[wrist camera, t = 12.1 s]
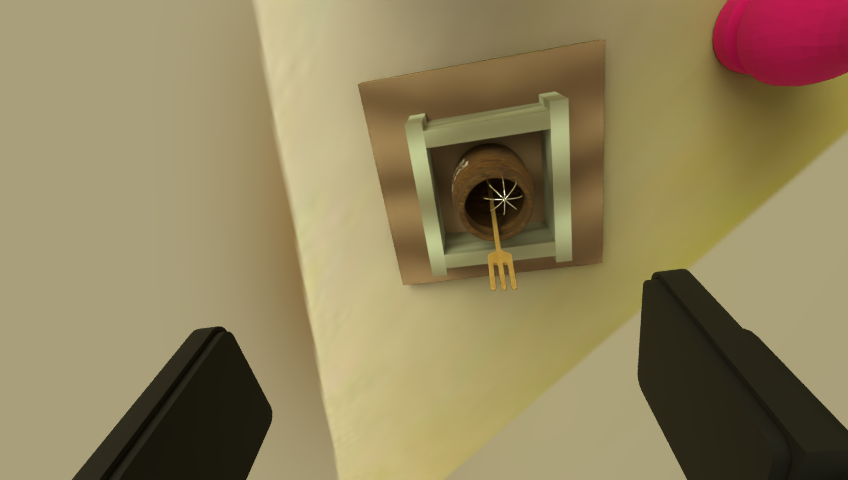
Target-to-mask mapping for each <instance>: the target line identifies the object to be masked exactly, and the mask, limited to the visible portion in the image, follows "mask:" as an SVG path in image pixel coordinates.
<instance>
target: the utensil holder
mask: <svg viewBox="0 0 848 480" xmlns="http://www.w3.org/2000/svg"><path fill="white" fill-rule="evenodd" d="M533 195H534V189H533V183H532V179H531V176H530V174H529V172H528V170H527V168H526V166H525V165H524V163H523V161H522V160H521V158H520V157H519V156H518V155H517V154H516V153H515V152H514V151H513V150H511V149H510V148H508V147H506V146H503V145H500V144H495V143H486V144H481V145H478V146H475V147H473V148H471V149H470V150H468V151H467V152H466V153H464V154H463V155H462V157H461V158H460V159H459V161H458V162H457V164H456V166H455V169H454V172H453V177H452V199H453V204H454V207H455V210H456V212H457V214H458V216H459V218H460V220H461V222H462V224H463V225H464V227H465V228H466V229H467V230H468V231H469V232H470V233H471V234H472V235H474V236H476V237H477V238H480V239H483V240H486V241H495V247H496V251H494V252H492V253H490V254H488V267H489V276H490V285H491V290H492V291H495V290H496V283H495V274H494V265H497V266H498V268H499V275H500V283H501V289H502V290H506V289H507V287H506V280H505V273H504V267H503V265H508V269H509V275H510V281H511V287H512V289H513V290H516V289H517V284H516V278H515V272H514V267H513V261H512V255H511V254H510V253H508V252H505V251H502V250H501V246H500V241H502V240H506V239H509V238H511V237H513V236H515V235H517V234H518V233H520V232H521V231H522V230H523V229H524V228H525V227H526V225H527V224H528V223H529V221H530V219H531V216H532V213H533V208H534V196H533Z"/></svg>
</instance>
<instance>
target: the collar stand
mask: <svg viewBox="0 0 848 480" xmlns="http://www.w3.org/2000/svg"><path fill="white" fill-rule="evenodd" d="M604 66H605V40H594V41H589V42H583V43H578V44H572V45H567V46H561V47H556V48H550V49H545V50H539V51H534V52H528V53H523V54H517V55H512V56H506V57H501V58H495V59H490V60H484V61H479V62H473V63H468V64H462V65H457V66H451V67H446V68H440V69H435V70H429V71H424V72H418V73H413V74H407V75H401V76H396V77H390V78H385V79H379V80H374V81H368V82H363V83H360V84H358V87H359V91H360V96H361V100H362V105H363V109H364V114H365V118H366V123H367V127H368V131H369V136H370V140H371V145H372V149H373V154H374V158H375V162H376V167H377V171H378V176H379V180H380V185H381V189H382V194H383V198H384V202H385V207H386V211H387V216H388V220H389V225H390V229H391V233H392V238H393V242H394V247H395V251H396V256H397V260H398V265H399V269H400V273H401V278H402V282H403V285H409V284H418V283H427V282H436V281H445V280H454V279H463V278H471V277H480V276H489V267H488V254H490V253H492V252H494V251H496V247H495V241H486V240H483V239H480V238H477V237H476V236H474V235H472V234H471V233H470V232H469V231H468V230H467V229H466V228H465V227H464V225H463V224H462V222H461V220H460V218H459V216H458V214H457V212H456V210H455V207H454V204H453V199H452V177H453V172H454V169H455V166H456V164H457V162H458V161H459V159H460V158H461V157H462V155H463V154H464V153H466V152H467V151H468V150H470V149H471V148H473V147H475V146H478V145H481V144H486V143H495V144H500V145H503V146H506V147H508V148H510V149H511V150H513V151H514V152H515V153H516V154H517V155H518V156H519V157H520V158H521V160H522V161H523V163H524V165H525V166H526V168H527V170H528V172H529V174H530V176H531V179H532V183H533V189H534V195H533V196H534V208H533V213H532V216H531V219H530V221H529V223H528V224H527V225H526V227H525V228H524V229H523V230H522V231H521V232H520V233H518V234H517V235H515V236H513V237H511V238H509V239H506V240H502V241H500V246H501V250H502V251H505V252H508V253H510V254H511V255H512V261H513V267H514V272H515V273H516V272H525V271H534V270H543V269H552V268H560V267H569V266H578V265H587V264H596V263H602V233H603V150H604ZM503 267H504V273H505V274H507V273H509V269H508V265H503ZM494 274H495V275H498V274H499V268H498V266H497V265H494Z"/></svg>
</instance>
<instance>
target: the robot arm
mask: <svg viewBox="0 0 848 480" xmlns="http://www.w3.org/2000/svg"><path fill="white" fill-rule="evenodd" d="M638 361H639V362H638V381H639V385H640V387H641V390H642V392H643V394H644V396H645V398H646V400H647V402H648V404H649V406H650V408H651V410H652V412H653V413H654V416H655V418H656V420H657V422H658V424H659V426H660V427H661V429H662V431H663V433H664V435H665V437H666V439H667V441H668V443H669V445H670V447H671V449H672V451H673V453H674V455H675V457H676V459H677V461H678V463H679V464H680V466H681V468H682V470H683V472H684V474H685V476H686V478H687V480H848V430H847V429H846V428H845V427H844V426H843V425H842V424H841V423H840V422H839V421H838V420H837V419H836V418H835V416H834V415H833V414H832V413H831V412H830V411H829V410H828V409H827V408H826V407H825V406H824V405H823V404H822V403H821V402H820V401H819V400H818V399H817V398H816V397H815V396H814V395H813V394H812V393H811V392H810V390H809V389H808V388H807V387H806V386H805V385H804V384H803V383H802V382H801V381H800V380H799V379H798V378H797V377H796V376H795V375H794V374H793V373H792V372H791V371H790V370H789V369H788V368H787V367H786V366H785V364H784V363H783V362H782V361H781V360H780V359H779V358H778V357H777V356H776V355H775V354H774V353H773V352H772V351H771V350H770V349H769V348H768V347H767V346H766V345H765V344H764V343H763V342H762V341H761V340H760V339H759V337H757V336H756V335H755V334H754V333H752V332H751V331H749V330H746V329H743V328H742V327H741V326H740V325H739V324H738V323H737V322H736V321H735V320H734V319H733V318H732V317H731V315H730V314H729V313H728V312H727V311H726V310H725V309H724V308H723V307H722V306H721V305H720V304H719V303H718V302H717V301H716V299H715V298H714V297H713V296H712V295H711V294H710V293H709V292H708V291H707V290H706V289H705V288H704V287H703V286H702V285H701V284H700V282H699V281H698V280H697V279H696V278H695V277H694V276H693V275H692V274H691V273H690V272H689V271H688V270H686V269H677V270H669V271H661V272H655V273H653V275H652V278H651V280H646V281H645V282H644V284H643V295H642V311H641V327H640V343H639V359H638ZM271 421H272V409H271V406H270V404H269V402H268V401H267V399H266V397H265V395H264V393H263V391H262V389H261V387H260V385H259V383H258V381H257V379H256V378H255V376H254V374H253V372H252V370H251V368H250V366H249V364H248V362H247V360H246V359H245V357H244V355H243V353H242V351H241V349H240V347H239V345H238V343H237V341H236V339H235V337H234V336H233V334H232V333H230V332H227V331H226V329H225V328H223V327H210V328H202V329H197V330H195V331H193V332H192V334H190V336H189V337H188V338H187V339H186V340H185V342H184V343H183V344H182V345H181V347H180V348H179V349H178V350H177V352H176V353H175V354H174V355H173V356H172V358H171V359H170V360H169V361H168V363H167V364H166V365H165V366H164V368H163V369H162V370H161V371H160V372H159V374H158V375H157V376H156V377H155V378H154V380H153V381H152V382H151V383H150V385H149V386H148V387H147V388H146V390H145V391H144V392H143V393H142V395H141V396H140V397H139V398H138V399H137V401H136V402H135V403H134V404H133V405H132V407H131V408H130V409H129V410H128V412H127V413H126V414H125V415H124V417H123V418H122V419H121V420H120V421H119V423H118V424H117V425H116V426H115V427H114V429H113V430H112V431H111V432H110V434H109V435H108V436H107V437H106V439H105V440H104V441H103V442H102V444H101V445H100V446H99V447H98V448H97V449H96V451H95V452H94V453H93V454H92V456H91V457H90V458H89V459H88V461H87V462H86V463H85V464H84V465H83V467H82V468H81V469H80V470H79V472H78V473H77V474H76V475H75V477H74V478H73V479H72V480H246V479H247V477H248V474H249V472H250V470H251V467H252V465H253V463H254V461H255V459H256V456H257V454H258V452H259V449H260V447H261V445H262V443H263V440H264V438H265V436H266V434H267V431H268V429H269V427H270V424H271Z"/></svg>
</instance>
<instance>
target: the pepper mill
mask: <svg viewBox="0 0 848 480" xmlns="http://www.w3.org/2000/svg"><path fill="white" fill-rule="evenodd" d="M713 47H714V50H715V53H716V56H717V58H718V59H719V61H720V62H721V63H722V64H723V65H724V66H725V67H726V68H728V69H730V70H732V71H734V72H738V73H744V74H750V75H751V76H753V77H754V78H755V79H757V80H759V81H761V82H764V83H766V84H770V85H774V86H802V85H809V84H813V83H818V82H822V81H825V80H829V79H832V78H835V77H837V76H840V75H842V74H845V73H847V72H848V0H728V1H727V3H726V4H725V6H724V7H723V8H722V10H721V12H720V14H719V16H718V19H717V21H716V25H715V28H714V34H713Z"/></svg>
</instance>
